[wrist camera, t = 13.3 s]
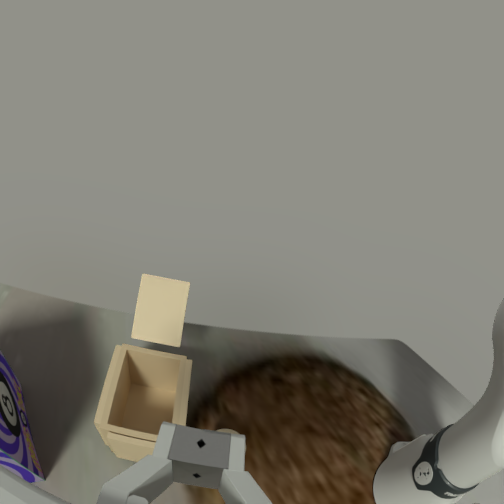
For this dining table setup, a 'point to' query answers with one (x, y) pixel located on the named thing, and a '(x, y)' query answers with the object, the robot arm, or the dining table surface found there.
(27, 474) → the toy
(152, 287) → the flap
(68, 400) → the dining table surface
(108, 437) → the carton
